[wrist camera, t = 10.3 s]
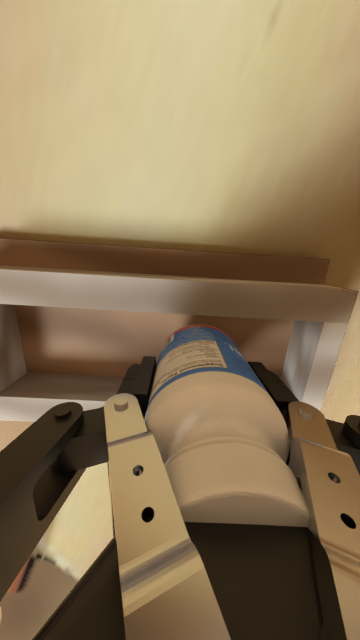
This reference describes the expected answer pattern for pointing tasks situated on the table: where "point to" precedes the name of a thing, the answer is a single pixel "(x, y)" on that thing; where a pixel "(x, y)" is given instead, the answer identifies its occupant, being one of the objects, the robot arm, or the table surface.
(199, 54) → the table surface
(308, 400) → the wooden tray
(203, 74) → the table surface
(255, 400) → the pill bottle
